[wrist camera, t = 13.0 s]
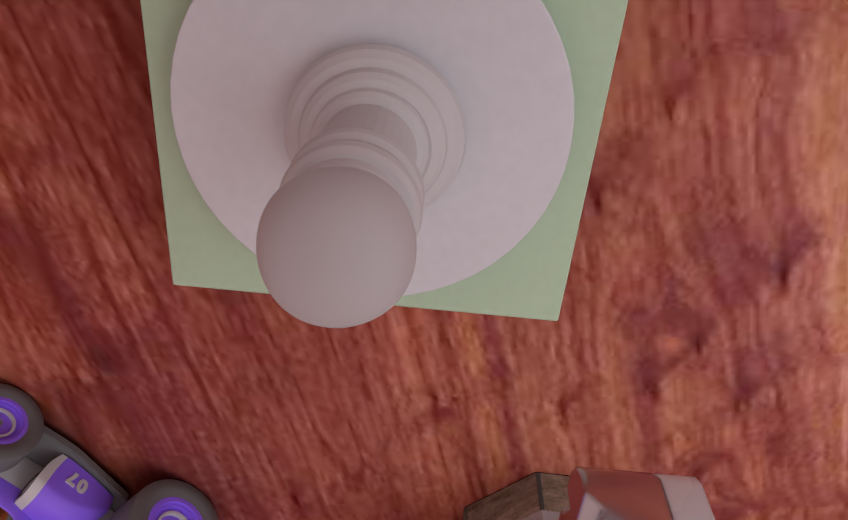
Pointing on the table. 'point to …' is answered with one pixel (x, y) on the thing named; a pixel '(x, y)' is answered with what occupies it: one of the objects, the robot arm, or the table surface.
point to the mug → (524, 500)
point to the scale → (478, 96)
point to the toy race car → (74, 477)
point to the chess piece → (357, 183)
